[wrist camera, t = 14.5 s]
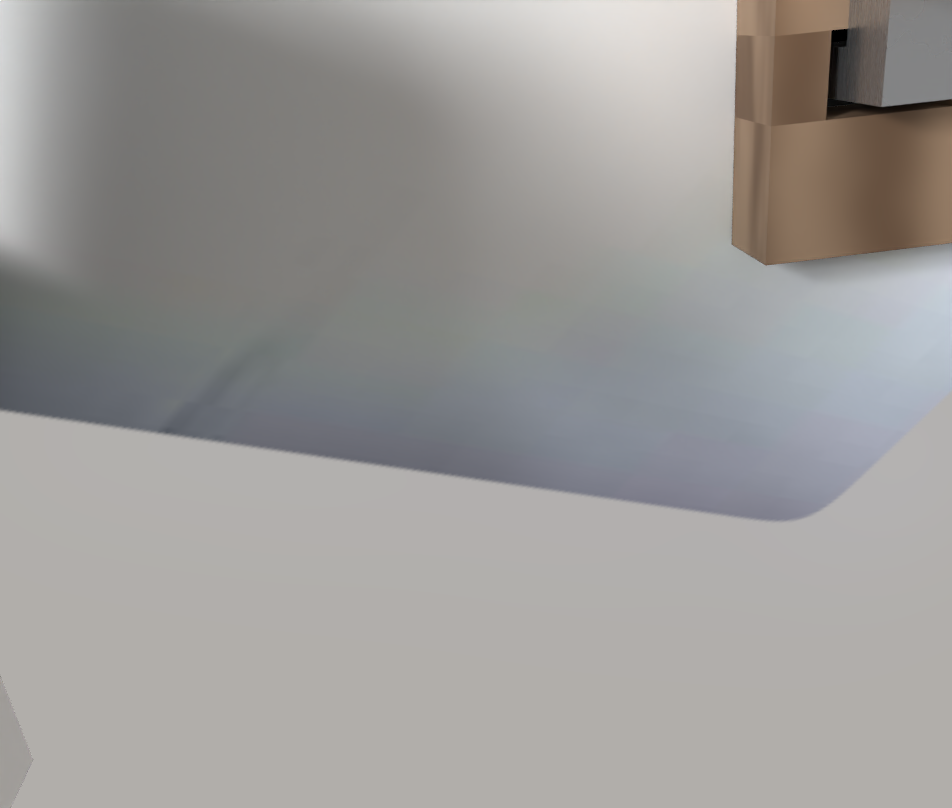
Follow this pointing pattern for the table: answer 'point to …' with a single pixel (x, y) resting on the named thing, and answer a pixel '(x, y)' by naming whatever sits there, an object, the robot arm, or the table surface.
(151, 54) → the table surface
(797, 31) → the slotted wooden block
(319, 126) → the table surface
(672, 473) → the table surface
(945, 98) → the clip
